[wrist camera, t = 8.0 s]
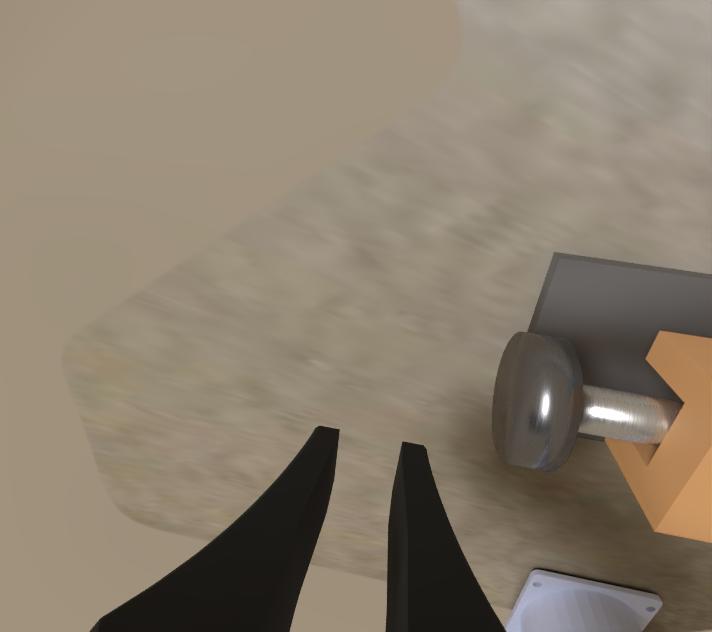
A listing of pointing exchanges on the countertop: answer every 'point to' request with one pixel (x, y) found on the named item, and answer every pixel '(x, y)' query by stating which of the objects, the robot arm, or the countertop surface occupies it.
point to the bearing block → (620, 317)
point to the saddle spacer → (676, 444)
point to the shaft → (563, 406)
